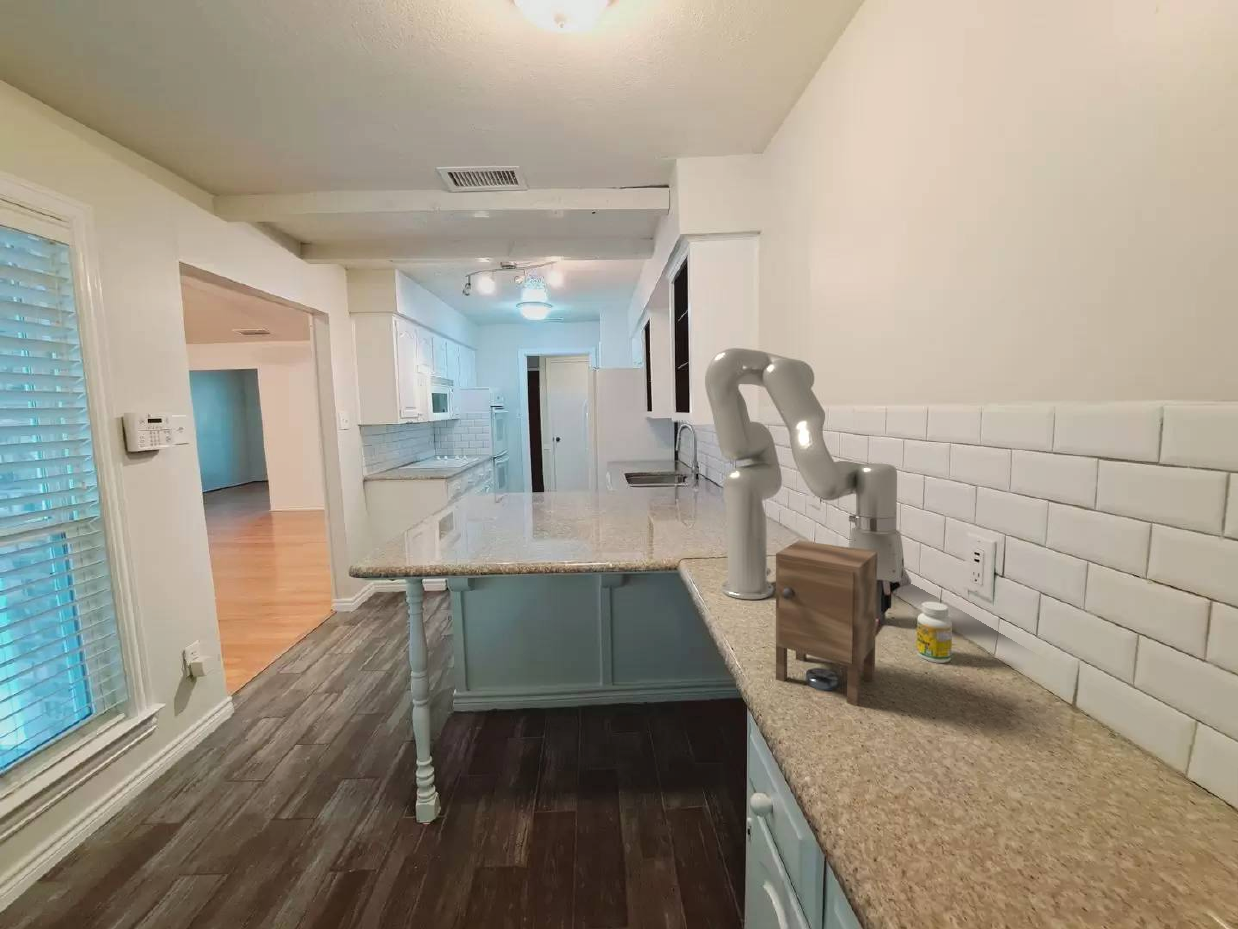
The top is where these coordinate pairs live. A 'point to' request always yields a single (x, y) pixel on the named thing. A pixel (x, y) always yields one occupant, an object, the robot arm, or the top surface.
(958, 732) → the top surface
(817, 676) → the steel token
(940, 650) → the supplement bottle
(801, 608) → the walnut cabinet
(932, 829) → the top surface
